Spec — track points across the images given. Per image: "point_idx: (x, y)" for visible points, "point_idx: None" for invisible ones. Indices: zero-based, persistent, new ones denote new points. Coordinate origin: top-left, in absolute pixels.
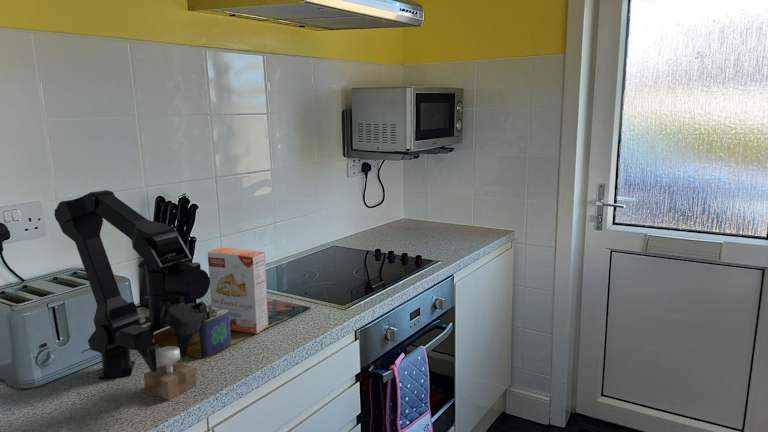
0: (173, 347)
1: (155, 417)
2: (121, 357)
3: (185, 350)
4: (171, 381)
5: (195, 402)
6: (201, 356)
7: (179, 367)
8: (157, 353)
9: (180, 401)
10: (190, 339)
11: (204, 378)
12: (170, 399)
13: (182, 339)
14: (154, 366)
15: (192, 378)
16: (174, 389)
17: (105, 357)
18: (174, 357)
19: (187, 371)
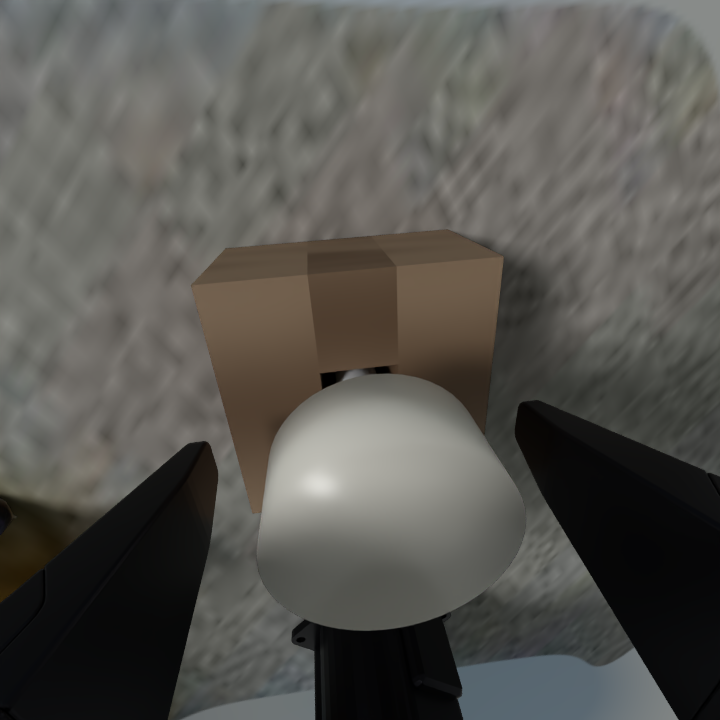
0: (303, 571)
1: (630, 119)
2: (404, 675)
3: (174, 484)
4: (461, 255)
5: (382, 27)
6: (9, 517)
7: (282, 391)
8: (510, 559)
9: (422, 153)
10: (12, 601)
11: (131, 286)
12: (438, 231)
13: (128, 655)
14: (583, 422)
15: (246, 259)
16: (415, 244)
17: (457, 703)
18: (402, 406)
19: (285, 277)
